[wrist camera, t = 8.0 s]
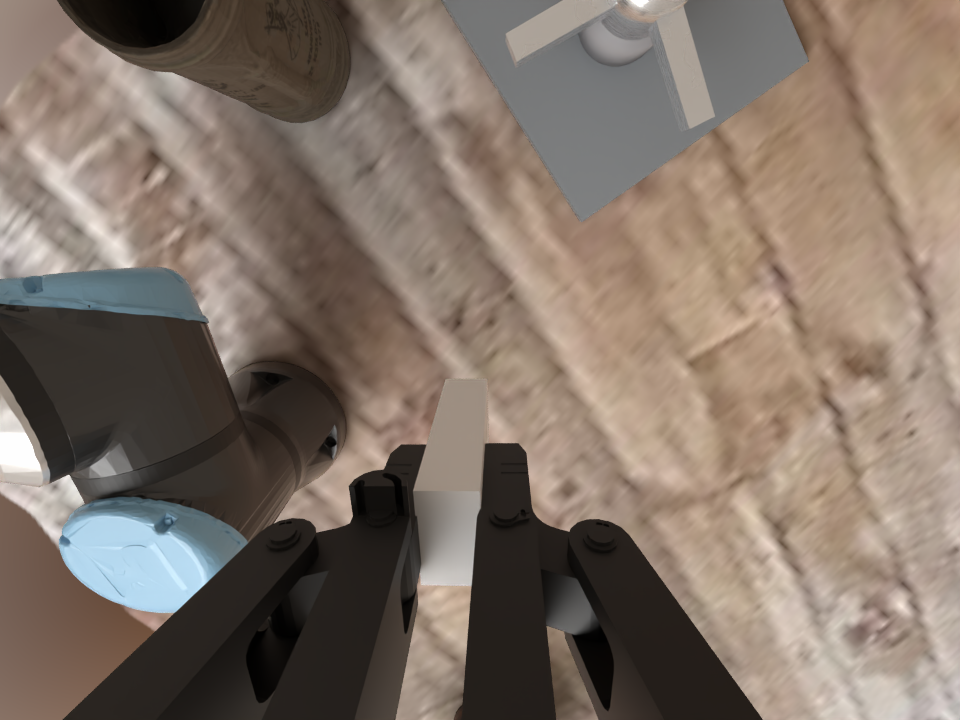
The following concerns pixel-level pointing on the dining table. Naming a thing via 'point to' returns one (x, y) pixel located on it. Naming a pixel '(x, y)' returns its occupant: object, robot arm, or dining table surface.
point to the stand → (624, 87)
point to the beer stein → (231, 47)
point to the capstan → (630, 16)
